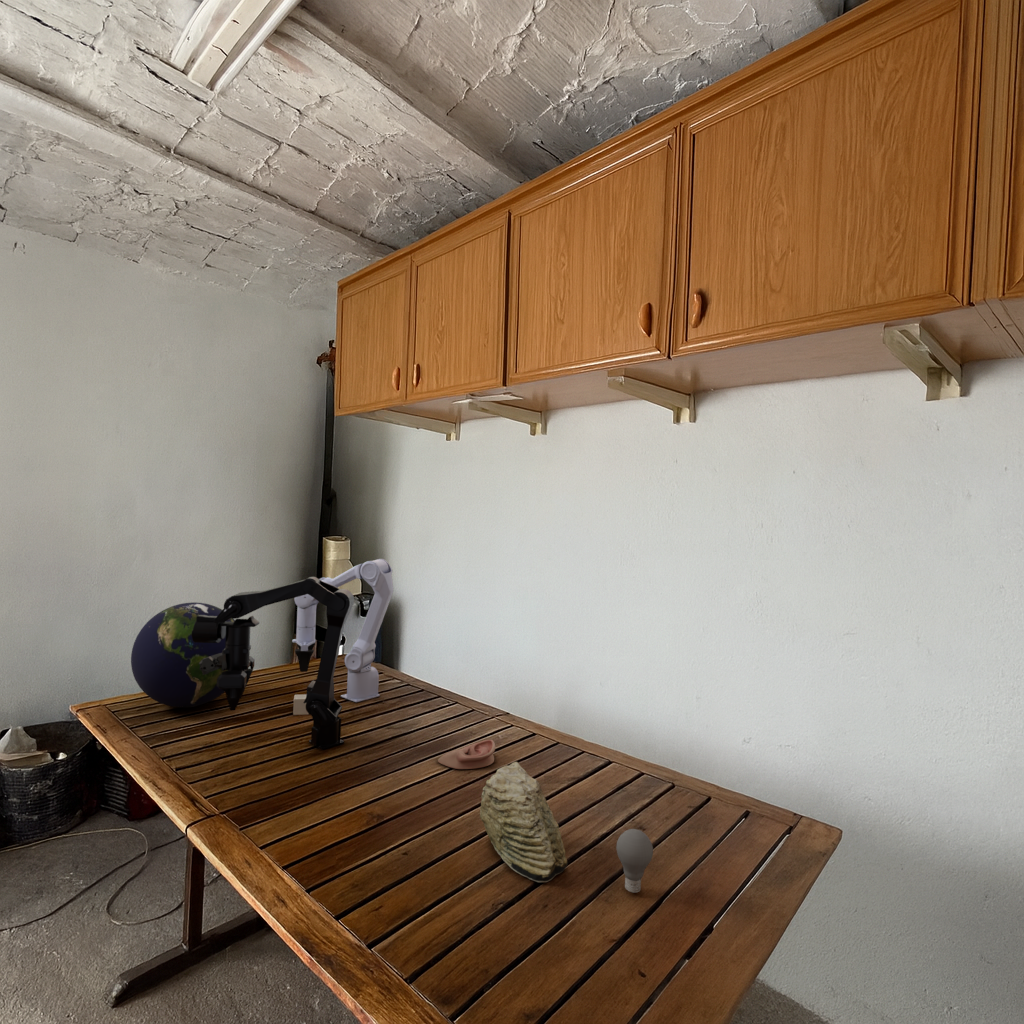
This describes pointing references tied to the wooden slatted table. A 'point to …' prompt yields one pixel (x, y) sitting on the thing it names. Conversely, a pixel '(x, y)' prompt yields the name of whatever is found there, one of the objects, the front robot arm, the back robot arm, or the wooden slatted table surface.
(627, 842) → the light bulb
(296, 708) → the block
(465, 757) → the anatomical model
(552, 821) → the fossil
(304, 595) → the back robot arm
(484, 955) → the wooden slatted table surface
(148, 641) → the globe
